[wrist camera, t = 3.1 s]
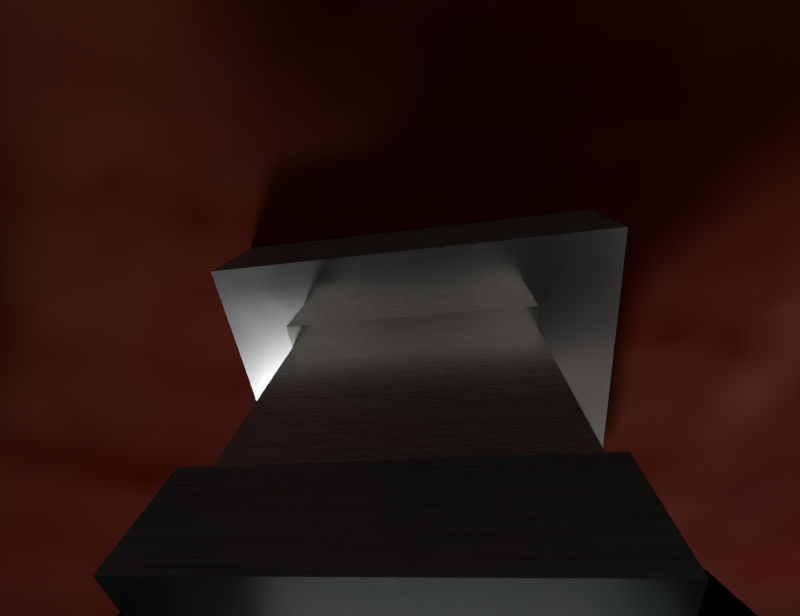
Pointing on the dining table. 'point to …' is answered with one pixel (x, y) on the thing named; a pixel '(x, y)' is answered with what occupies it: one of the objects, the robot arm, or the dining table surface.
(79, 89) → the dining table surface
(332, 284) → the stand
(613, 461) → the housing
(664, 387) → the dining table surface
